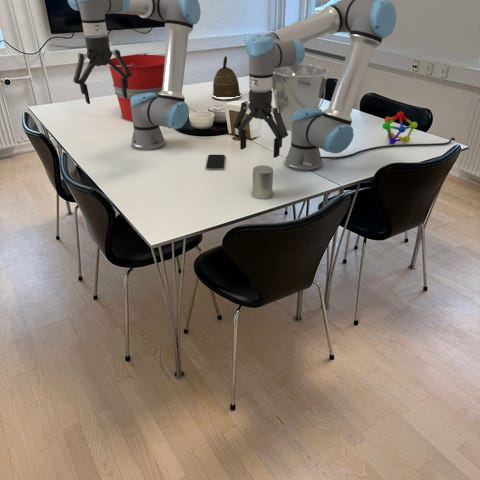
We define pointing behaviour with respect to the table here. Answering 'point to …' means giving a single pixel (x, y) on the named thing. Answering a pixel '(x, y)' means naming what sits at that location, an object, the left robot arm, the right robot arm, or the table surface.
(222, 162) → the smartphone
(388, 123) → the educational toy
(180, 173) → the table surface
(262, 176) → the can
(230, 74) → the bell
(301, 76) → the bucket
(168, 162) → the table surface
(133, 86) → the bucket
